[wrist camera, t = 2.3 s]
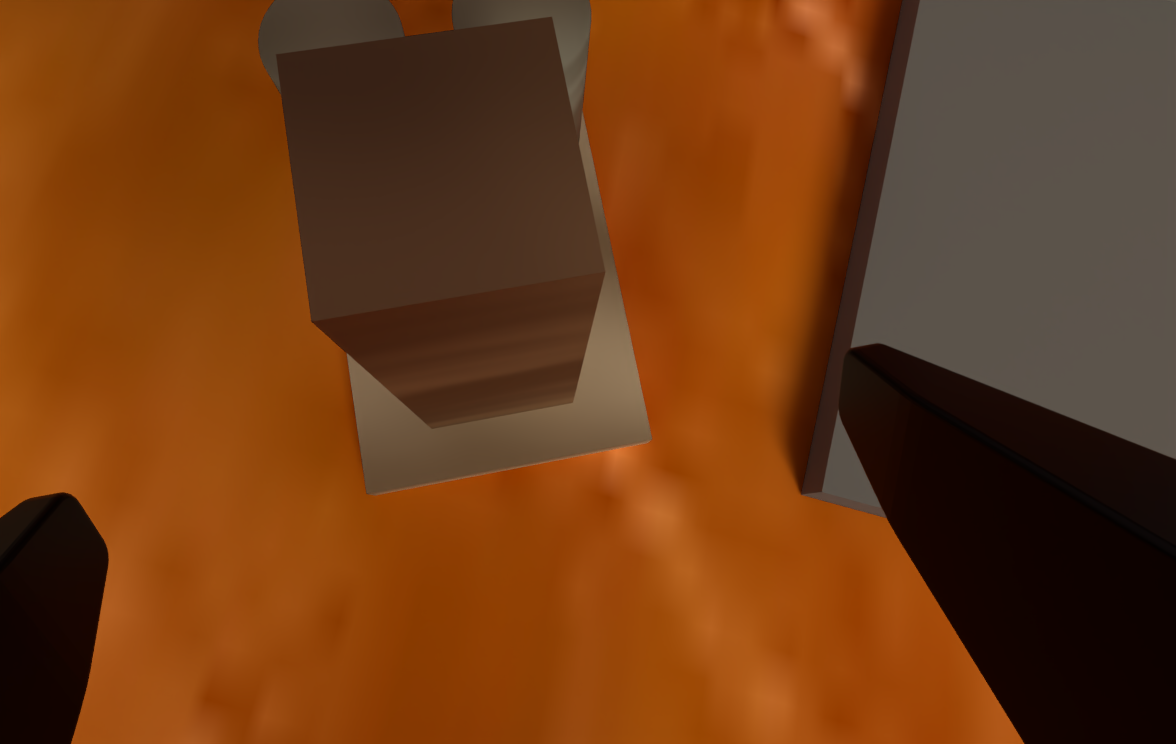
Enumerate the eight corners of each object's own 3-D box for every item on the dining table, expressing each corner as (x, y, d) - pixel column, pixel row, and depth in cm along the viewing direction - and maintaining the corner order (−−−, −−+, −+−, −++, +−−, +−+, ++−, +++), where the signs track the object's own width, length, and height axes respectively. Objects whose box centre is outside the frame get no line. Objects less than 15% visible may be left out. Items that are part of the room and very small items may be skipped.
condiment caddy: (646, 443, 20) (769, 345, 9) (375, 495, 19) (166, 455, 9) (567, 65, 22) (591, -377, 11) (318, 101, 21) (92, -332, 11)
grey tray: (1249, 617, 20) (1372, 632, 17) (801, 494, 20) (846, 488, 17) (1295, 44, 23) (1403, -25, 20) (914, -61, 23) (968, -145, 20)
